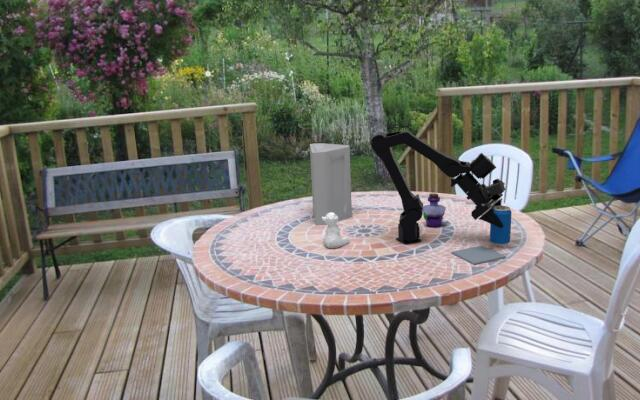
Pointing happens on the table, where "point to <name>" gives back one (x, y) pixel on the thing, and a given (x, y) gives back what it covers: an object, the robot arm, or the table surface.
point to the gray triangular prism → (330, 181)
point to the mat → (478, 255)
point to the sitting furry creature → (333, 232)
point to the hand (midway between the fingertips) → (504, 224)
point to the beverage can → (502, 234)
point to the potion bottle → (433, 212)
